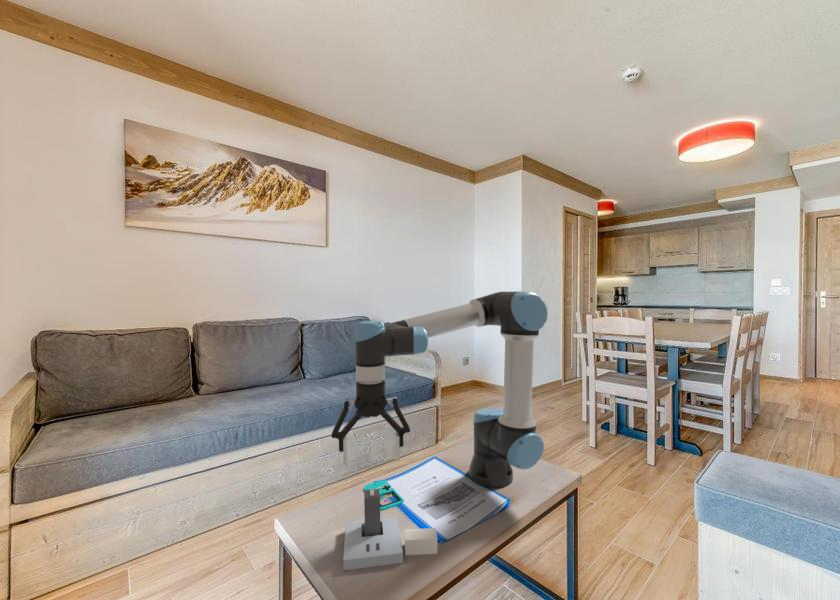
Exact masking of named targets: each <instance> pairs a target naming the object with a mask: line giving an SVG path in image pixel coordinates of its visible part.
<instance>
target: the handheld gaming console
mask: <svg viewBox="0 0 840 600" xmlns="http://www.w3.org/2000/svg"><path fill="white" fill-rule="evenodd" d="M371 489H379V491H380V501H382V500H383V502H384V503H385V504H381V503H380V511H385V510H388V509H391V508H394V507H397V506H400V505H402V503H403V502H404V503H405V499H404V498H403V497H402V496H401V495H400V494H399V493H398V492H397V491H396V490H395V488H394V487H392V485H390V482H388V481H387V480H378V481H375V482H372V483H369V484H366V485H365V486H364V487H363V491H364V490H371ZM393 495H394V496H395V497H396V498H397V499H398V500H395V501H391V502H389V503H387V504H386V502H387V501H389V499H388V498H390V497H391V498H392V497H393ZM383 498H386V499H383ZM404 503H403V504H404Z"/></svg>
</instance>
